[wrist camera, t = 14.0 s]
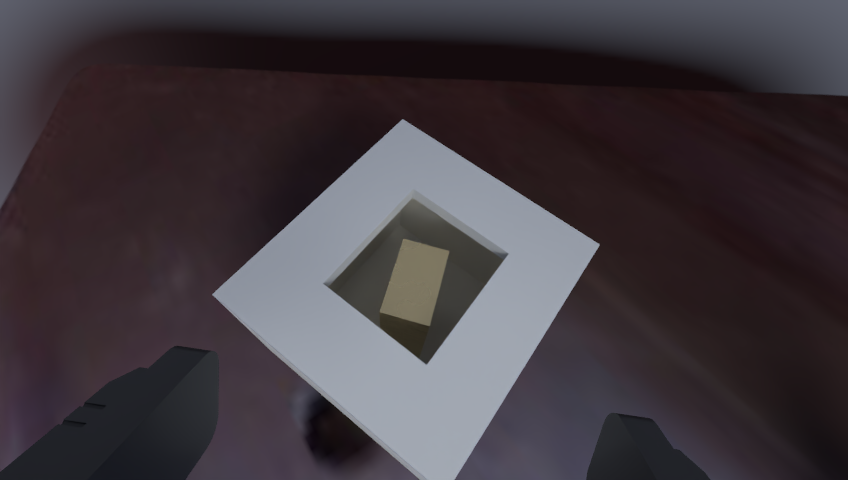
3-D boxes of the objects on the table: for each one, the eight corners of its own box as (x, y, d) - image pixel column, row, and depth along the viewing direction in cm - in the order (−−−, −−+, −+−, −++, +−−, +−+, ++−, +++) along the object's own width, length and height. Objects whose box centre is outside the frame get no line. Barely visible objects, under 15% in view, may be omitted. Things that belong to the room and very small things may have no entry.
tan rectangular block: (433, 303, 35) (449, 251, 27) (417, 362, 33) (429, 326, 24) (399, 293, 36) (403, 238, 27) (381, 351, 33) (379, 312, 24)
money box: (532, 311, 37) (600, 244, 25) (422, 481, 30) (445, 494, 19) (397, 216, 40) (402, 119, 29) (271, 351, 34) (212, 294, 22)
